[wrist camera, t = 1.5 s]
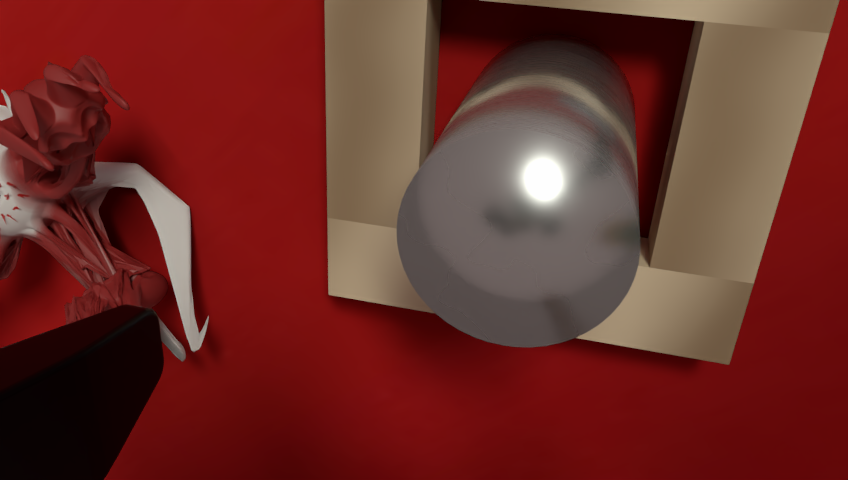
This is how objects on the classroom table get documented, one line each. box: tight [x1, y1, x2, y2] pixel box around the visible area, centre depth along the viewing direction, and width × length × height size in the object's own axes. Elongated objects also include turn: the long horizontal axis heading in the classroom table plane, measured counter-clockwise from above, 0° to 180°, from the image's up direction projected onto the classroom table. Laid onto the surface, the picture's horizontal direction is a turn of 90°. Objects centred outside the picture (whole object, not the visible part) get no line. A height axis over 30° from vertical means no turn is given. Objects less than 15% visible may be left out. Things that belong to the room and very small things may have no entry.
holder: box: [325, 0, 839, 365], centre depth 20 cm, size 12×12×2 cm
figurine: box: [0, 55, 209, 361], centre depth 23 cm, size 15×12×7 cm
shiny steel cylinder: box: [397, 34, 640, 347], centre depth 18 cm, size 5×5×8 cm
